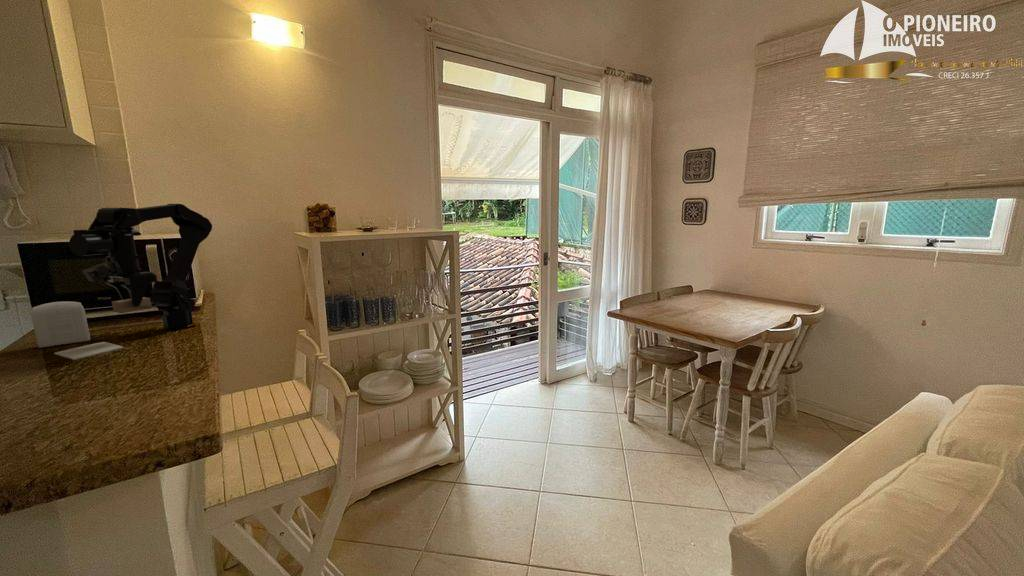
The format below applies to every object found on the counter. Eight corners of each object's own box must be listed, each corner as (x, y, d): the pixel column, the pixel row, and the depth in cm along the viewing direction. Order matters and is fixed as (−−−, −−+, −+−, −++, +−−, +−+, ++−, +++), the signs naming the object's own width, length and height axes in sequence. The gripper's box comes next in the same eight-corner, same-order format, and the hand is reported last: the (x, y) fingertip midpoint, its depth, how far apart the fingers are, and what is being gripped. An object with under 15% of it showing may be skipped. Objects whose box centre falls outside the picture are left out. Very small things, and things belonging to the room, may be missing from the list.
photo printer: (91, 337, 120) (82, 298, 117) (90, 341, 117) (81, 300, 114) (39, 345, 113) (29, 303, 110) (37, 349, 110) (26, 306, 107)
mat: (103, 342, 115) (103, 341, 115) (123, 348, 111) (123, 346, 111) (54, 354, 106) (54, 352, 106) (74, 360, 102) (73, 358, 102)
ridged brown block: (143, 306, 120) (142, 296, 119) (151, 307, 118) (150, 297, 117) (113, 311, 113) (111, 301, 113) (121, 313, 112) (119, 302, 111)
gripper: (67, 253, 109) (78, 308, 112) (101, 256, 102) (112, 315, 104) (119, 250, 119) (128, 300, 122) (153, 252, 112) (163, 306, 115)
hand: (132, 305), depth 115 cm, fingers closed on ridged brown block, 4 cm apart
